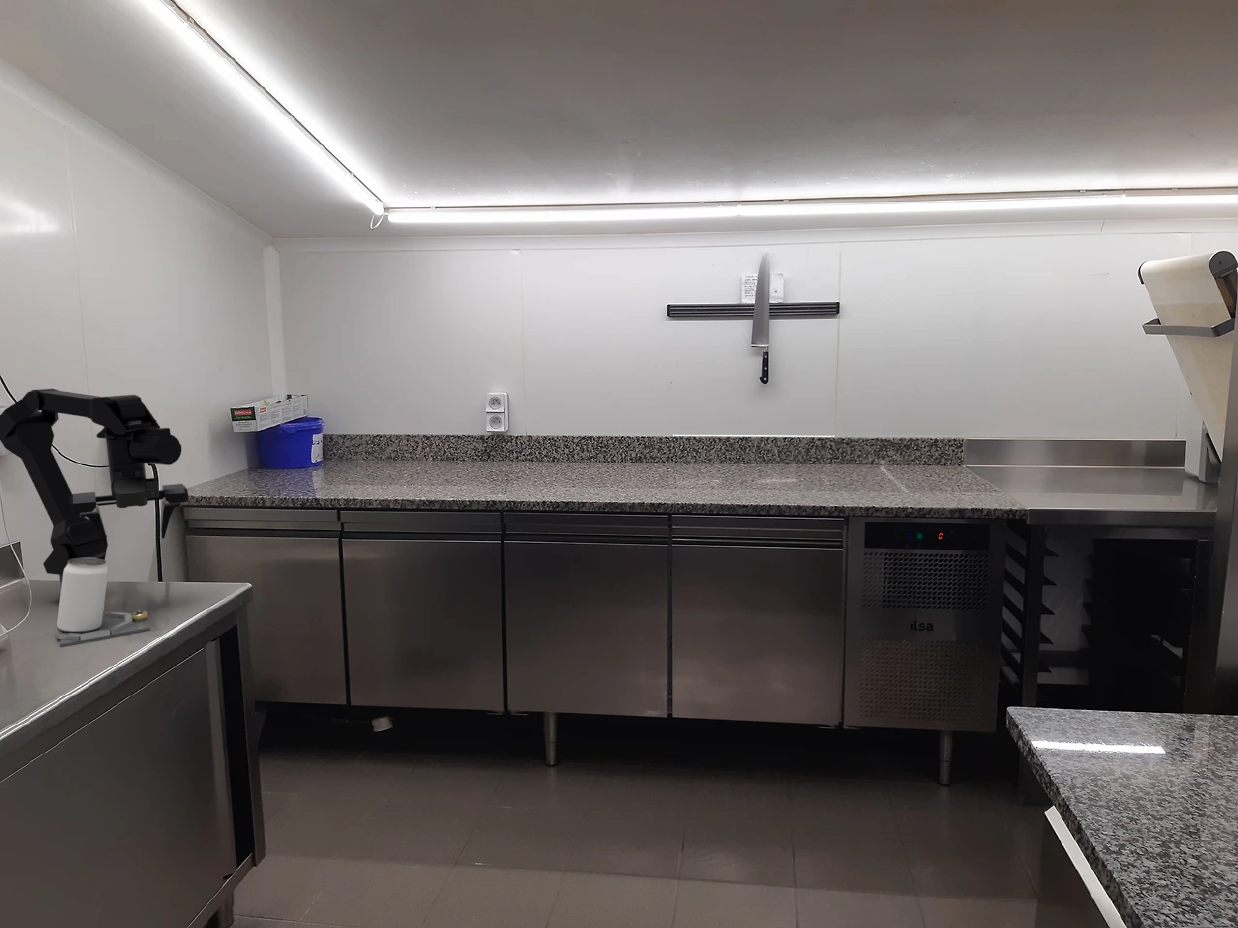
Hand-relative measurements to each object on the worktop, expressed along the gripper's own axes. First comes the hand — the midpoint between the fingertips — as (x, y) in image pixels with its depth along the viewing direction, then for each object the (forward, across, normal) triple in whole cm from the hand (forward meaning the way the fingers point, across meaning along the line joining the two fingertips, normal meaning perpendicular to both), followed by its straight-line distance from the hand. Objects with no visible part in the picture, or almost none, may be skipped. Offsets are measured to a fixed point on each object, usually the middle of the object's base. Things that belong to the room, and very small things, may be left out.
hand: (135, 541), depth 143 cm
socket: (+13, -8, -10) cm, 18 cm away
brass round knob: (+13, -1, -10) cm, 16 cm away
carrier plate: (+13, -6, -10) cm, 18 cm away
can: (+12, -10, -10) cm, 18 cm away
